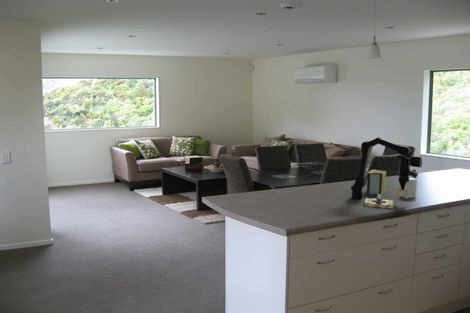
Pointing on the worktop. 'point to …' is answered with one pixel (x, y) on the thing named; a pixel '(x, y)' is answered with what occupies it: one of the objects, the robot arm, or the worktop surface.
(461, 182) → the worktop surface
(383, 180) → the protein box
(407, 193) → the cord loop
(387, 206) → the hook shelf
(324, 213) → the worktop surface
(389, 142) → the robot arm
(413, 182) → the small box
